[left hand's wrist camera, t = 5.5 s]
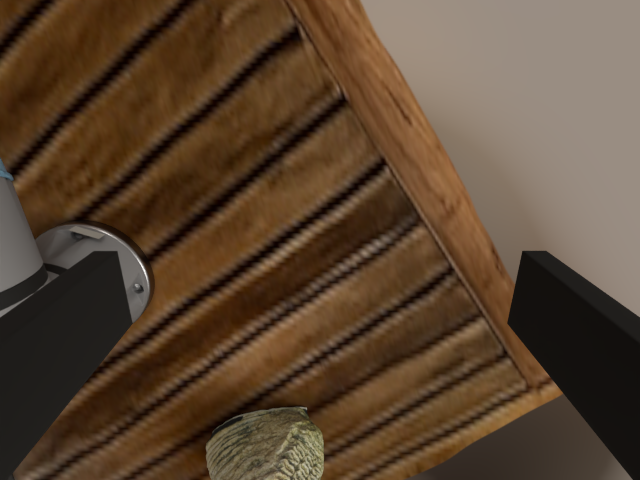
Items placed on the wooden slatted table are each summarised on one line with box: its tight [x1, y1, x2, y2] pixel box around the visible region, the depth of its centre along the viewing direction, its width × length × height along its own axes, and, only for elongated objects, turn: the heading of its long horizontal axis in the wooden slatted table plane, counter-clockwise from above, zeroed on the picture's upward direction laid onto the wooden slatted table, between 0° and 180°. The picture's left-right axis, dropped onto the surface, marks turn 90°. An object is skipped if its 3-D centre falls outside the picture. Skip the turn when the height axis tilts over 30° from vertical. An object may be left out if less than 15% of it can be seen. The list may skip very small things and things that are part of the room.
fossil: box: [206, 407, 324, 480], centre depth 52 cm, size 9×18×15 cm, turn 121°
